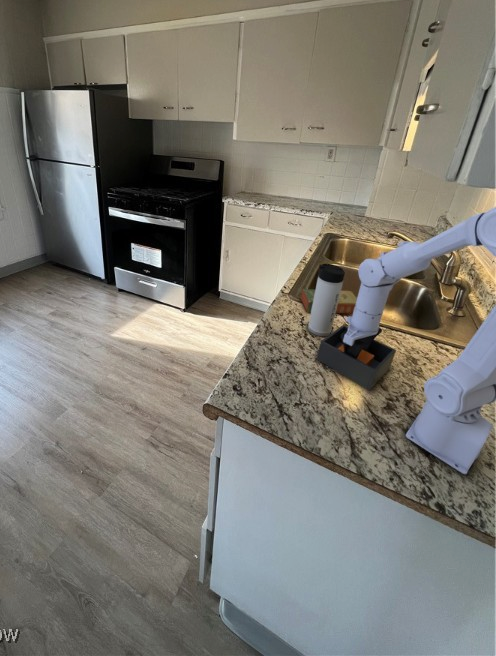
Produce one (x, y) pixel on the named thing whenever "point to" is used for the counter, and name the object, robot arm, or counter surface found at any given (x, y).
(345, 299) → the carton
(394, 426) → the counter surface
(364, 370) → the bin
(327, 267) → the travel mug
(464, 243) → the robot arm
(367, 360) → the block
